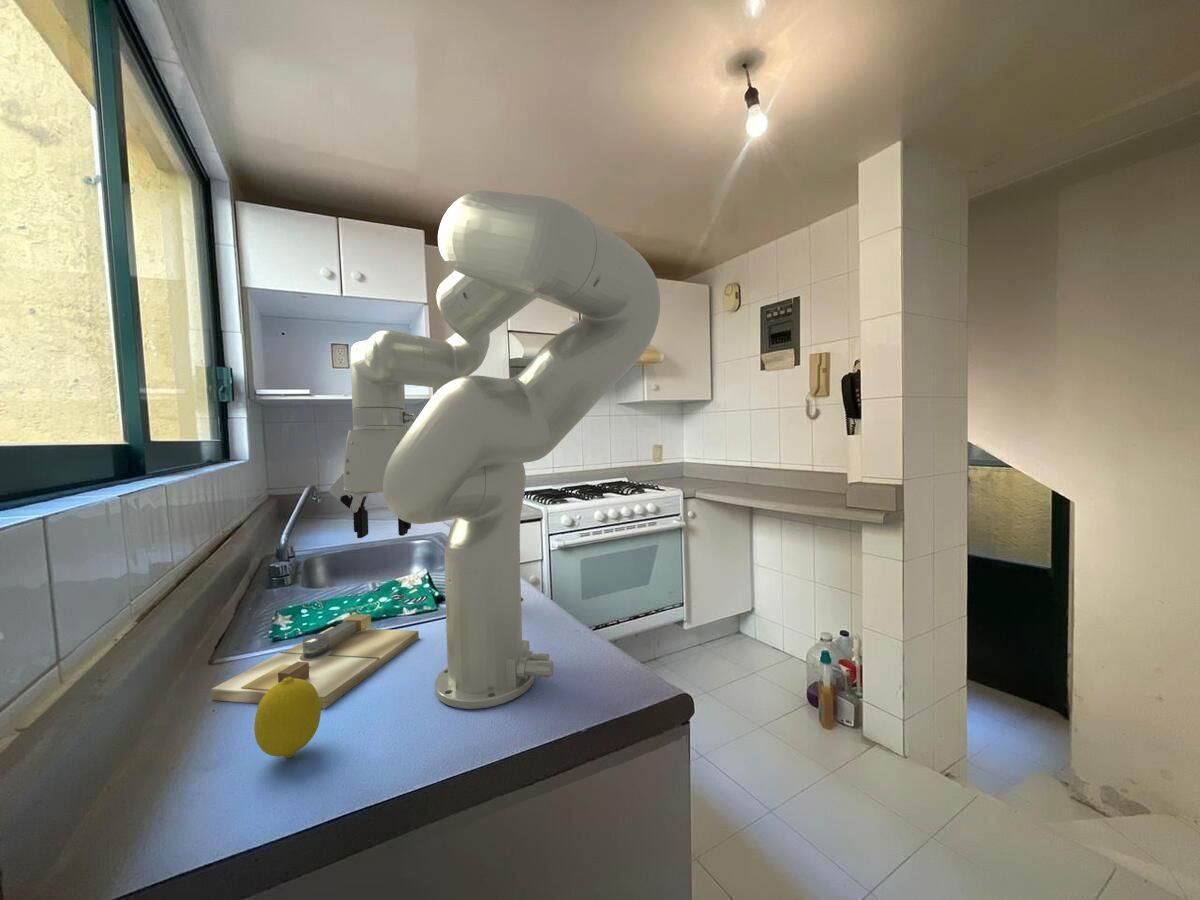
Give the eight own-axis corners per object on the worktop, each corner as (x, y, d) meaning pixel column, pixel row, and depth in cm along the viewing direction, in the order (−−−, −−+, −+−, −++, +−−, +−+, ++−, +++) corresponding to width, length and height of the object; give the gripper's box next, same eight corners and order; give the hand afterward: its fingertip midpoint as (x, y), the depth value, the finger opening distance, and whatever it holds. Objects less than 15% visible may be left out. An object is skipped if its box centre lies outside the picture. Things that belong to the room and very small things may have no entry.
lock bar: (317, 657, 64) (316, 643, 64) (297, 656, 64) (296, 642, 64) (371, 625, 75) (370, 613, 75) (353, 624, 76) (353, 612, 76)
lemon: (289, 780, 43) (286, 695, 42) (240, 773, 44) (238, 690, 44) (334, 742, 48) (332, 666, 48) (290, 736, 49) (288, 663, 49)
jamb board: (418, 638, 74) (418, 617, 74) (324, 708, 54) (323, 680, 54) (331, 633, 77) (331, 613, 77) (212, 699, 57) (211, 672, 57)
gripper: (440, 421, 77) (443, 528, 77) (330, 423, 74) (334, 534, 74) (432, 418, 70) (435, 536, 70) (309, 420, 67) (313, 543, 67)
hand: (383, 534), depth 72 cm, fingers open, 5 cm apart
